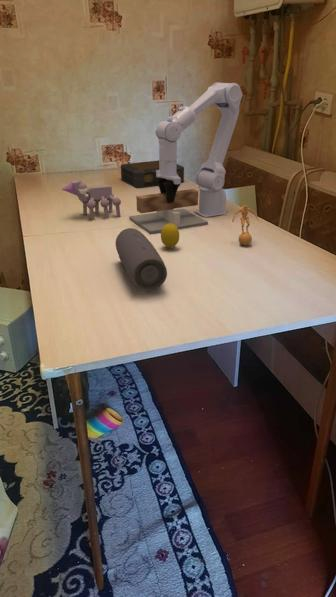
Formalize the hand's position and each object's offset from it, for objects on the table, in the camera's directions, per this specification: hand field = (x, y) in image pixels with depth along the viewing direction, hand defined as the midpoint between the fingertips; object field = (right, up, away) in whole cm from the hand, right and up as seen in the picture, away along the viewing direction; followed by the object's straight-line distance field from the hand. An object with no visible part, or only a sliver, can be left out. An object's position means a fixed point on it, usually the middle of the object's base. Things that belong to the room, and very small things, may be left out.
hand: (167, 201), depth 151 cm
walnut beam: (0, -2, +1) cm, 2 cm away
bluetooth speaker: (-7, -28, -36) cm, 46 cm away
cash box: (-8, +22, +59) cm, 63 cm away
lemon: (+1, -19, -19) cm, 27 cm away
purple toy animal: (-28, -4, +9) cm, 29 cm away
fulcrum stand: (0, -7, +3) cm, 7 cm away
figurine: (+23, -17, -16) cm, 33 cm away
